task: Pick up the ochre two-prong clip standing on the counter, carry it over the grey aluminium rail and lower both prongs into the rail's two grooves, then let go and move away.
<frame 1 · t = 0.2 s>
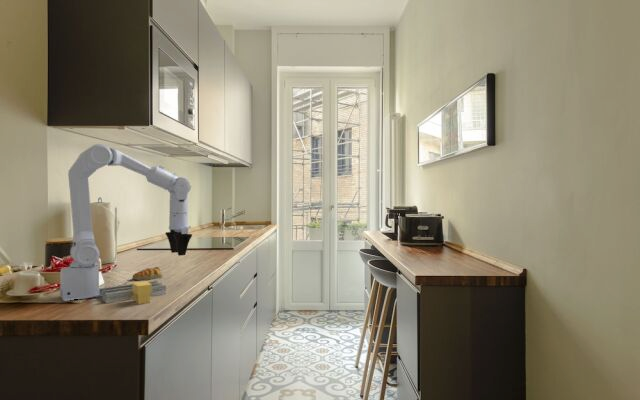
hand: (178, 253, 127), 10 cm above the counter, tool pointing down, fingers open, 7 cm apart
rail: (133, 295, 111), on the counter
pastry: (148, 279, 135), on the counter
clip: (141, 301, 105), on the counter
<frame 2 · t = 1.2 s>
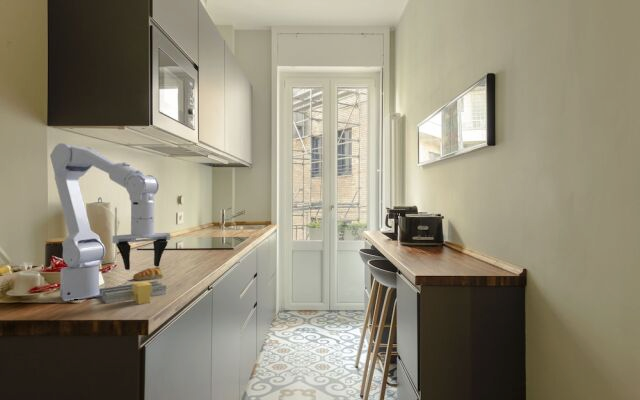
hand: (142, 267, 105), 9 cm above the counter, tool pointing down, fingers open, 7 cm apart
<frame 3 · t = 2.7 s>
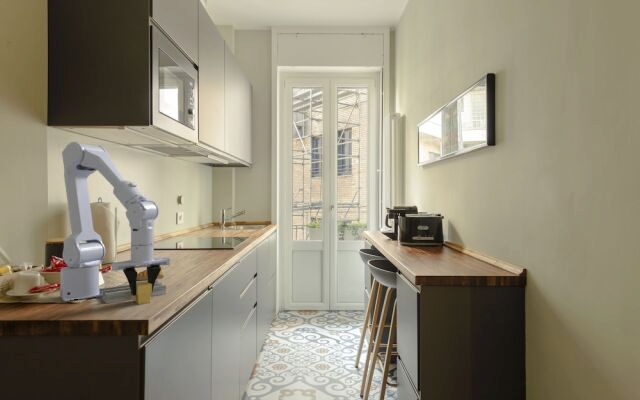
hand: (142, 293, 105), 2 cm above the counter, tool pointing down, fingers closed on clip, 4 cm apart
clip: (141, 301, 105), on the counter, touching gripper
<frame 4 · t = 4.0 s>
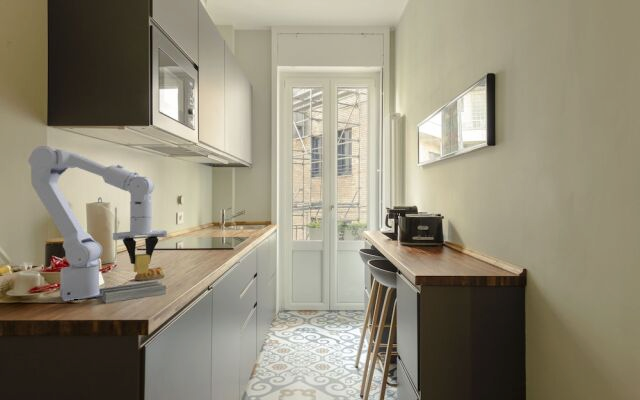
hand: (140, 262, 112), 9 cm above the counter, tool pointing down, fingers closed on clip, 4 cm apart
clip: (140, 272, 112), point 7 cm above the counter, touching gripper
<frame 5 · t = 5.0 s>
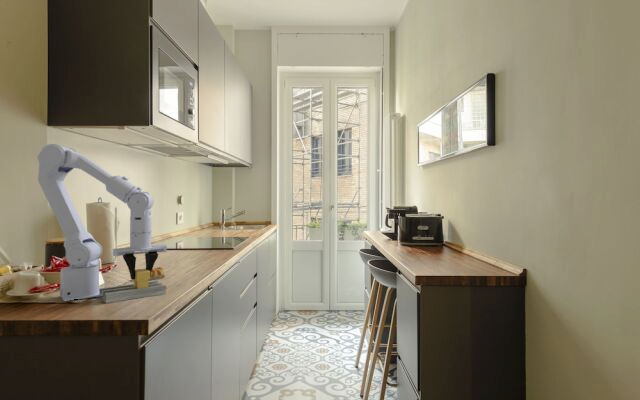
hand: (140, 278, 112), 5 cm above the counter, tool pointing down, fingers closed on clip, 4 cm apart
clip: (140, 287, 112), point 2 cm above the counter, touching gripper
when the fingers open (4 cm above the counter, at t = 5.6 s): clip stays where it is, resting on rail.
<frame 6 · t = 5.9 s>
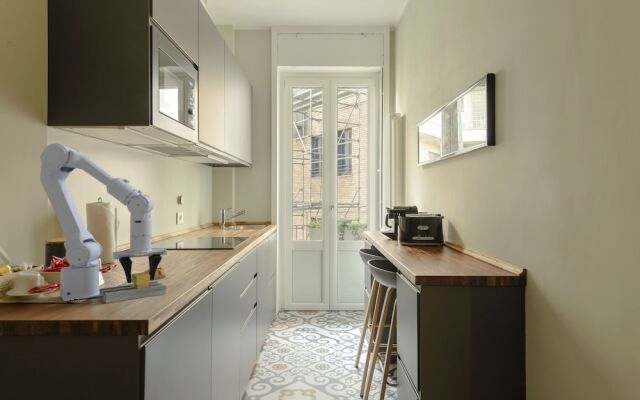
hand: (140, 281, 112), 4 cm above the counter, tool pointing down, fingers open, 6 cm apart
clip: (140, 291, 112), point 1 cm above the counter, touching rail
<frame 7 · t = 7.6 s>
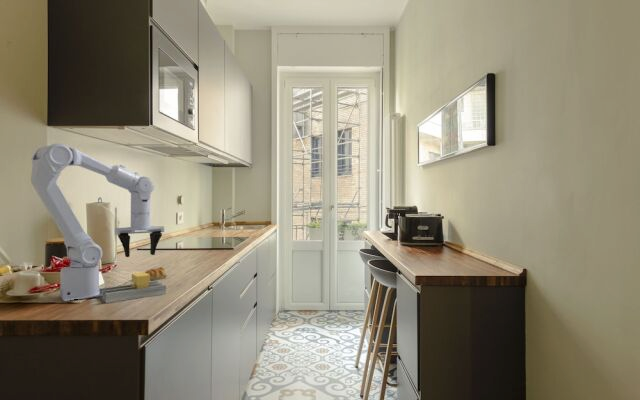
hand: (140, 255, 123), 10 cm above the counter, tool pointing down, fingers open, 7 cm apart
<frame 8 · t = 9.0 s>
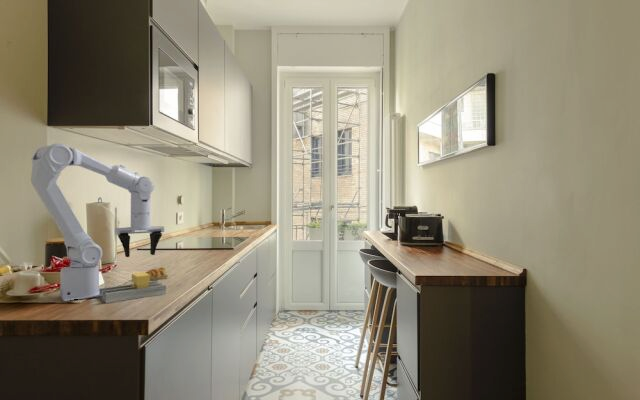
hand: (140, 255, 123), 10 cm above the counter, tool pointing down, fingers open, 7 cm apart
at the end: clip inside the target area on the rail (2.0 cm from its centre), point 1.0 cm above the rail's base; clip tilted 0°; the gripper is holding nothing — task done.
